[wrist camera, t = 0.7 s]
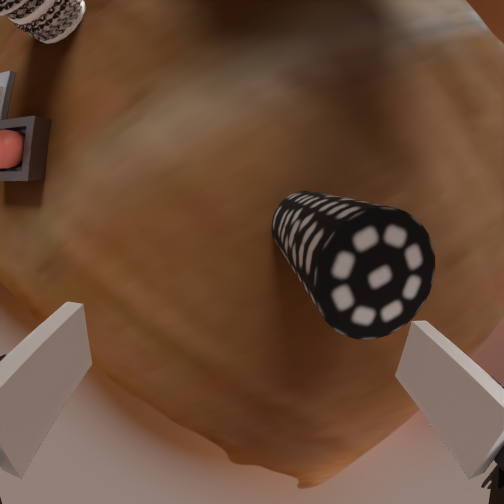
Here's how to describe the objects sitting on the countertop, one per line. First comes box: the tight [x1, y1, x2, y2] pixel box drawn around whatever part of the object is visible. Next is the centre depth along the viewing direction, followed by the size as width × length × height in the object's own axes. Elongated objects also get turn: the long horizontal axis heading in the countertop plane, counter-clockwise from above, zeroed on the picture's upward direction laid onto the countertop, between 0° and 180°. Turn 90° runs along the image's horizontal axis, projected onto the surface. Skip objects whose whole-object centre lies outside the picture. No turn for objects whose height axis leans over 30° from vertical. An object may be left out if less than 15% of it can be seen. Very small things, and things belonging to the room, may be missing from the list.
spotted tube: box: [272, 191, 435, 340], centre depth 27 cm, size 8×8×20 cm
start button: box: [0, 129, 26, 168], centre depth 29 cm, size 5×5×4 cm
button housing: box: [0, 116, 51, 181], centre depth 30 cm, size 8×8×4 cm
